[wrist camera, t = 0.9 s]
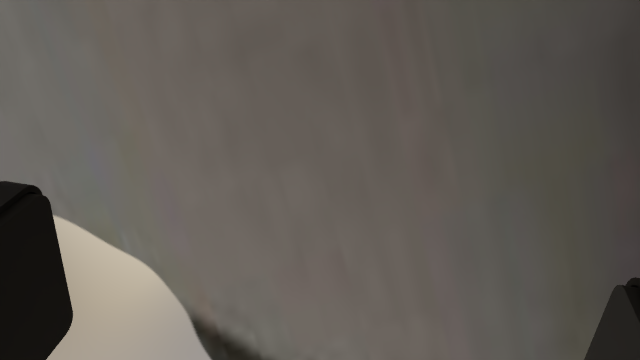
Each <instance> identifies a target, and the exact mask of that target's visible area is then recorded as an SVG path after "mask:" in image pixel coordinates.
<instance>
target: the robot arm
mask: <svg viewBox="0 0 640 360" xmlns="http://www.w3.org/2000/svg"><path fill="white" fill-rule="evenodd" d="M72 318H73V311H72V306H71V301H70V296H69V291H68V287H67V282H66V277H65V272H64V267H63V263H62V258H61V253H60V248H59V244H58V239H57V234H56V229H55V224H54V219H53V215H52V210H51V205H50V202H49V200H48V198H47V197H46V196H43V195H42V192H41V191H40V189H39V188H38V187H36V186H34V185H27V184H20V183H14V182H7V181H0V360H46V359H47V358H48V356H49V355H50V354H51V353H52V351H53V350H54V349H55V347H56V346H57V345H58V344H59V342H60V341H61V340H62V339H63V337H64V336H65V335H66V333H67V332H68V330H69V328H70V326H71V323H72ZM584 360H640V278H631V279H630V280H629V281H628V282H627V284H626V286H624V285H617V286H616V287H615V288H614V290H613V292H612V294H611V296H610V299H609V301H608V303H607V306H606V308H605V311H604V313H603V315H602V318H601V320H600V323H599V325H598V328H597V330H596V332H595V335H594V337H593V340H592V342H591V344H590V347H589V349H588V352H587V354H586V357H585V359H584Z"/></svg>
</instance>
